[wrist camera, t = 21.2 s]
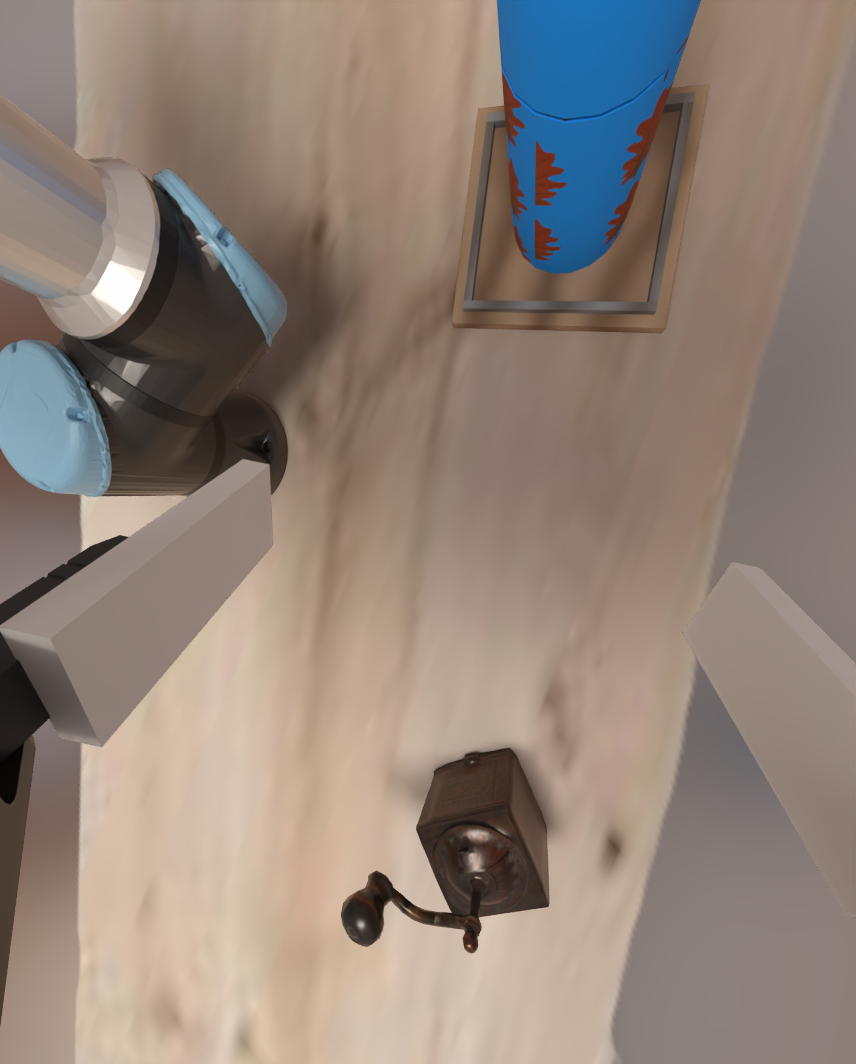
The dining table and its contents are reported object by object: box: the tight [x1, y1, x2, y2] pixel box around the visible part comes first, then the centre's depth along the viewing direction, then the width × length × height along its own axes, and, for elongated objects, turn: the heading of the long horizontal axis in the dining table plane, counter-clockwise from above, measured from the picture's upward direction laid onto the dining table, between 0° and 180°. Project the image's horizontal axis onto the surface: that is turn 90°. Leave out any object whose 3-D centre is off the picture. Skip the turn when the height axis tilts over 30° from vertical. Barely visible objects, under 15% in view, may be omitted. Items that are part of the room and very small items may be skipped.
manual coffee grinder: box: [341, 749, 549, 953], centre depth 40 cm, size 16×11×18 cm
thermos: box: [497, 0, 701, 274], centre depth 28 cm, size 11×11×25 cm
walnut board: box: [452, 84, 709, 333], centre depth 40 cm, size 21×21×2 cm
